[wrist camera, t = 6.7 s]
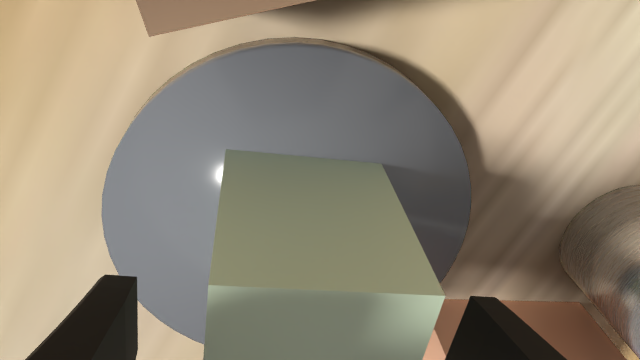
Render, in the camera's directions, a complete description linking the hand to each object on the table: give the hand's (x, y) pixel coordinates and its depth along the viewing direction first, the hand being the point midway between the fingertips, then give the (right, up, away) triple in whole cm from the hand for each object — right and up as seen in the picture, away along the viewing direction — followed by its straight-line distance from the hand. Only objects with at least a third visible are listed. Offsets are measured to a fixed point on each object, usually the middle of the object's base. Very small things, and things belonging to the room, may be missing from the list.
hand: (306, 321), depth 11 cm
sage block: (0, +2, +3) cm, 3 cm away
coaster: (-1, +2, +4) cm, 4 cm away
